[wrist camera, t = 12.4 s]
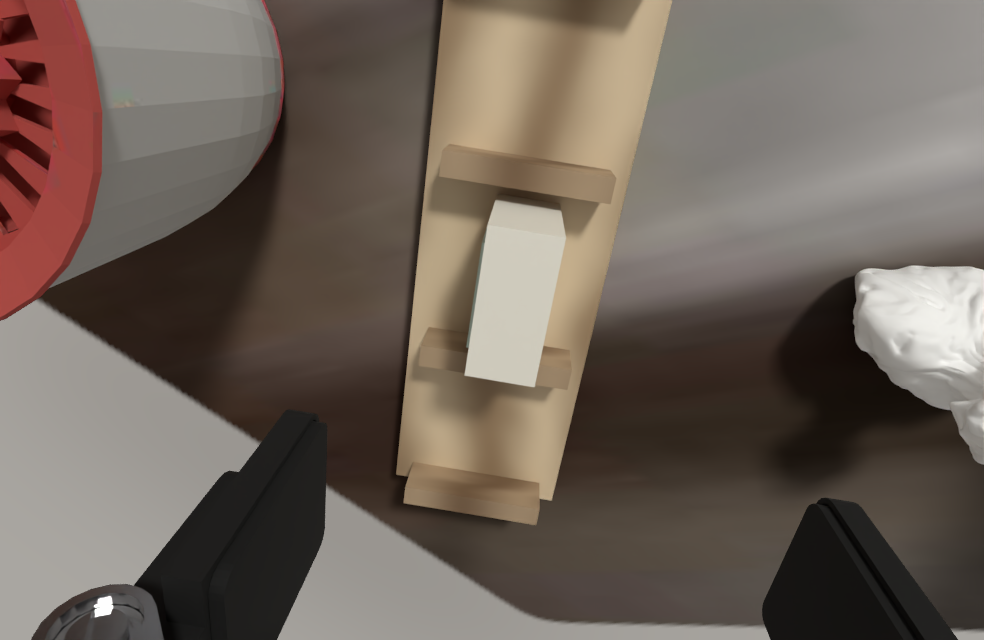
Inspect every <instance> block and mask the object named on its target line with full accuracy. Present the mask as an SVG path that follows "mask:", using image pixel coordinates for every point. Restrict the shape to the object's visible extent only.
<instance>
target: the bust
mask: <svg viewBox="0 0 984 640" xmlns="http://www.w3.org/2000/svg"><path fill="white" fill-rule="evenodd" d="M855 291H856V304H855V307H854V310H853V315H854V319H853V324H854V326H855V329H854V334H855V341H856V344H857V345H858V347H859V348H860V349H861V350H862V351H865V352H867V353H868V354H869V355H870V356H871V357H872V358H873V359H874V360H875V362H876V363H877V365H878V367H879V368H880V369H881V370H883V371H884V372H886V373H887V375H888V377H889V378H890V380H891V381H892V382H893V383H894V384H896V385H898V386H899V387H901V388H903V389H907V390H909V391H910V392H912V394H913V395H915V396H916V397H918V398H920V399H922V400H924V401H925V402H926V403H928V404H929V405H932V406H934V407H938V408H941V409H946V410H951V411H952V413H953V416H954V418H955V420H956V422H957V425H958V428H959V434H960V435H961V437H962V438H963V439H964V440H965V442H966V443H967V444H968V445H969V446H970V451H971V453H972V455H973V458H974V460H975V461H977V462H978V463H980V464H984V270H982V269H977V268H974V267H968V266H964V267H925V266H908V267H904V268H901V269H897V270H884V269H876V268H869V269H864V270H861V271H860V272H858V273H857V275H856V276H855Z"/></svg>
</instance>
